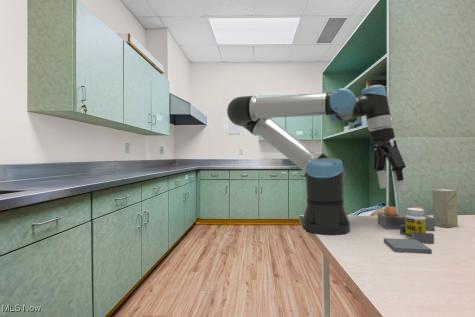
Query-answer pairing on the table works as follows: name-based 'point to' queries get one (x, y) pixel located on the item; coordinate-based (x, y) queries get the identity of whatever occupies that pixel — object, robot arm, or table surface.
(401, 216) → the plunger block
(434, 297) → the table surface
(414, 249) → the pad
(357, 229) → the table surface
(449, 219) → the skincare box
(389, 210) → the plunger left
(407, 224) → the supplement bottle
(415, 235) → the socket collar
